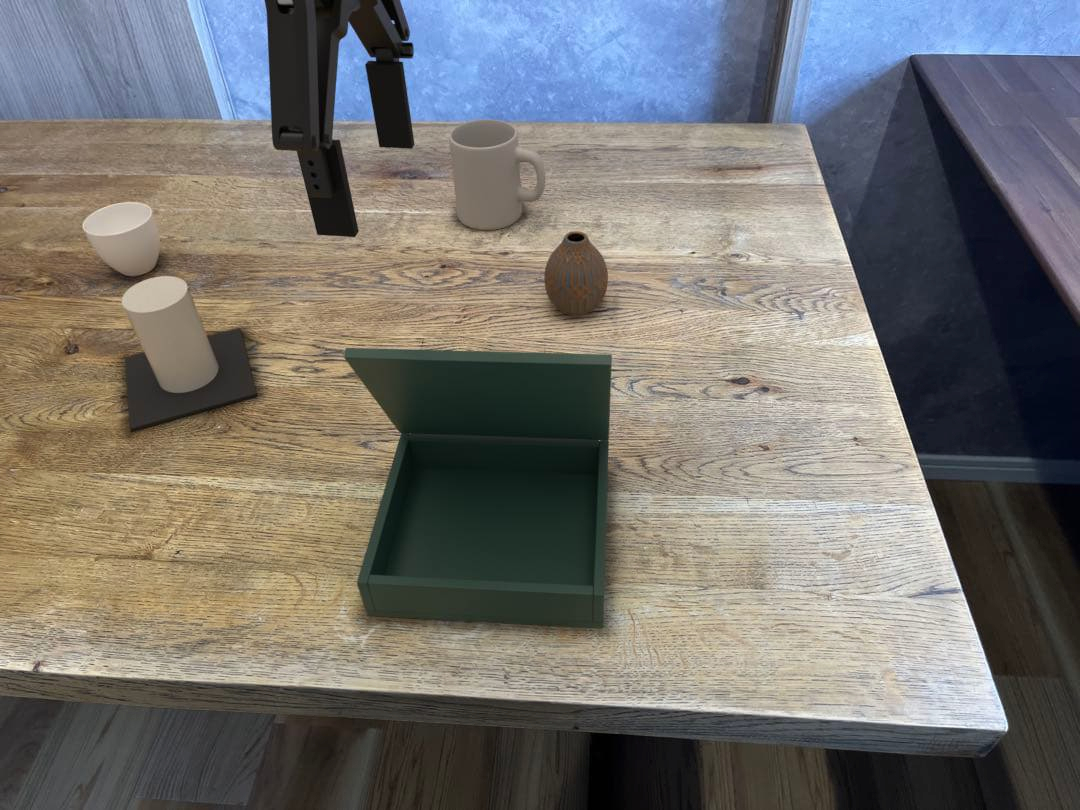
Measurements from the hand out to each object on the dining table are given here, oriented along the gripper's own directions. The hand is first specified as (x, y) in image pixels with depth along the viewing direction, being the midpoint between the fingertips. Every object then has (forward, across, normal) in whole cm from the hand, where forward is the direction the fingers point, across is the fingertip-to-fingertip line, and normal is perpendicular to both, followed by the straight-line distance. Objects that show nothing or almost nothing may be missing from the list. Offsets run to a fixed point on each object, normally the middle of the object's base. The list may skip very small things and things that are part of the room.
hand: (370, 186), depth 60 cm
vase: (+25, -22, +12) cm, 35 cm away
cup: (+25, -24, -43) cm, 55 cm away
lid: (+13, +8, +10) cm, 18 cm away
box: (+25, +12, +10) cm, 30 cm away
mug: (+25, -40, 0) cm, 48 cm away
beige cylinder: (+25, -4, -26) cm, 36 cm away
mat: (+25, -4, -26) cm, 36 cm away
